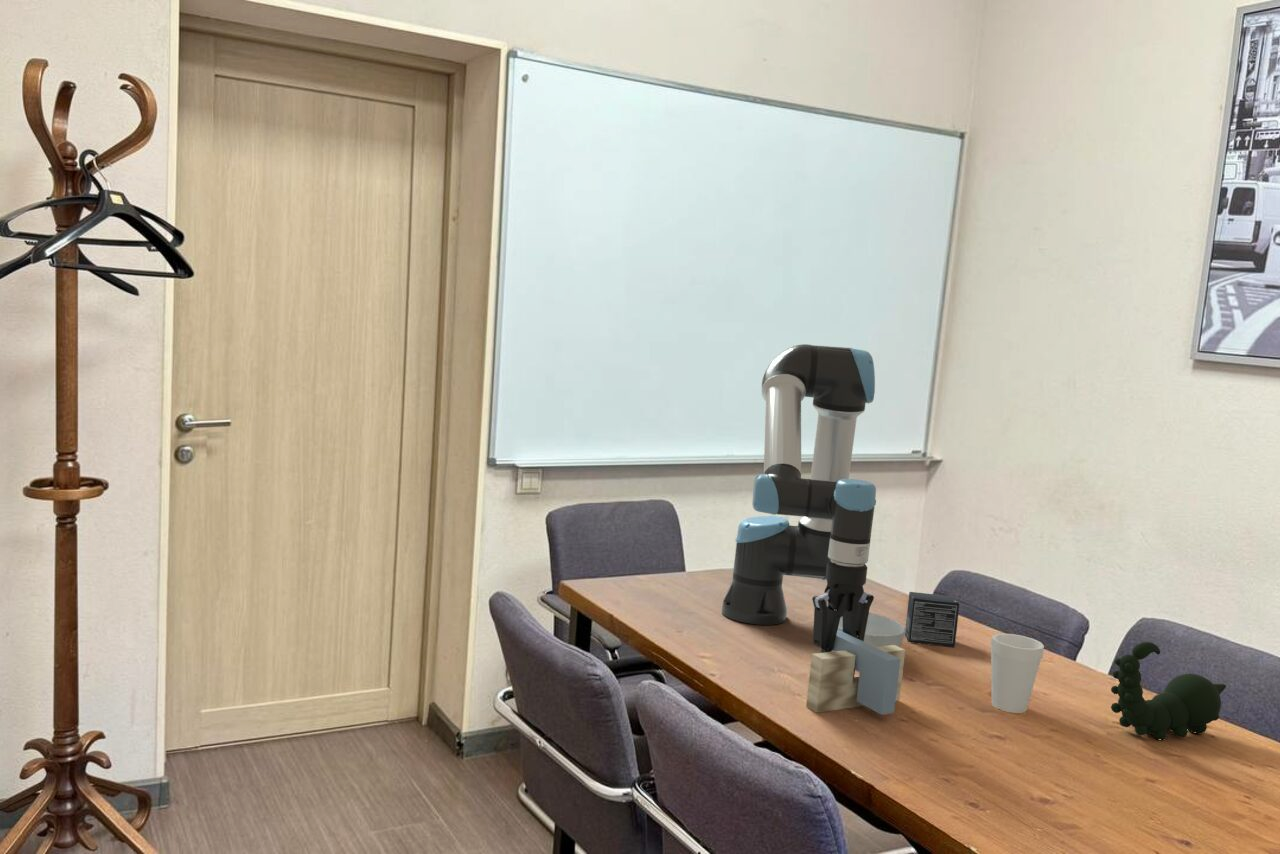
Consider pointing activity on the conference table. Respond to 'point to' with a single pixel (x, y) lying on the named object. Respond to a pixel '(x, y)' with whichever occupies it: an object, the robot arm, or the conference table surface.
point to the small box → (932, 619)
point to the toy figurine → (1164, 699)
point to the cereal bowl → (881, 631)
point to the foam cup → (1013, 670)
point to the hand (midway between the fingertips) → (833, 681)
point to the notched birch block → (840, 679)
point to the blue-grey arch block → (872, 673)
